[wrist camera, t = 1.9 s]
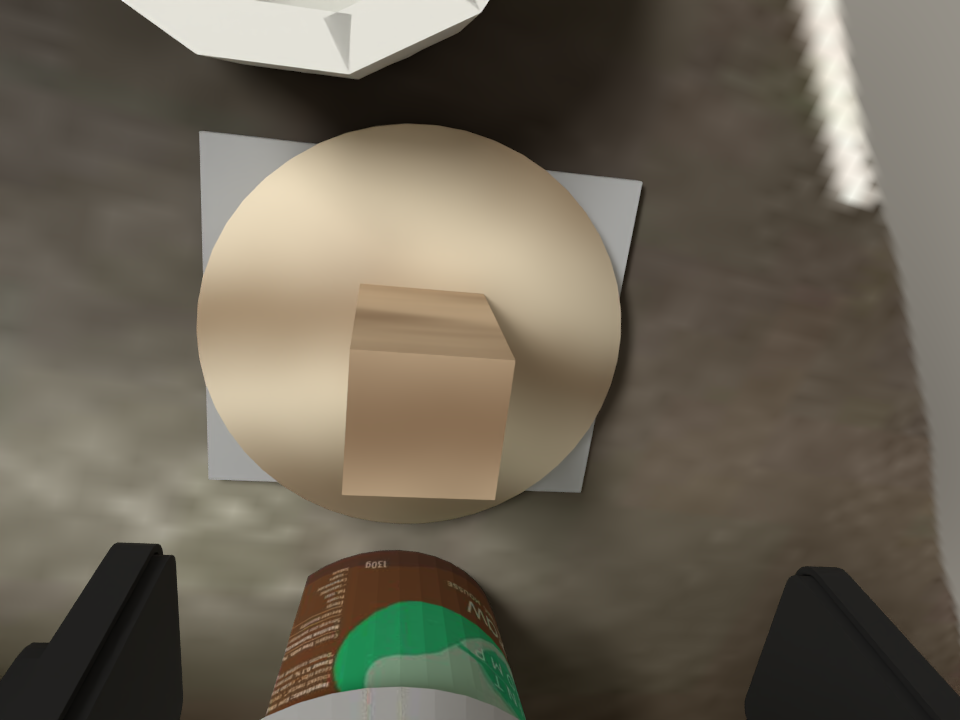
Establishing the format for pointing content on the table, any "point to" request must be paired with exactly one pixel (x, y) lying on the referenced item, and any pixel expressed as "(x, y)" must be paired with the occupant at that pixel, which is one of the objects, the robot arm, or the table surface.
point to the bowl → (310, 30)
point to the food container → (394, 645)
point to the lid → (408, 323)
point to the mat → (249, 160)
